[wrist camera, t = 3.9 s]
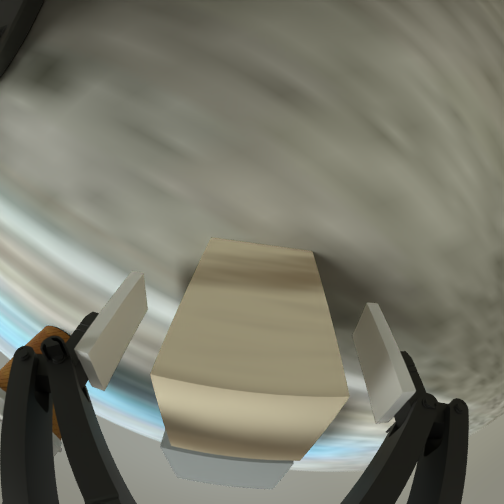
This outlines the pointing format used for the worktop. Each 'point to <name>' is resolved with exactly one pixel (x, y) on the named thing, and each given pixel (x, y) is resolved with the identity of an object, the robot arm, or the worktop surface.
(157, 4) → the worktop surface
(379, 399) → the robot arm
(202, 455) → the top slab
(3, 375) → the disposable coffee cup
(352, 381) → the worktop surface
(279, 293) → the birch block
